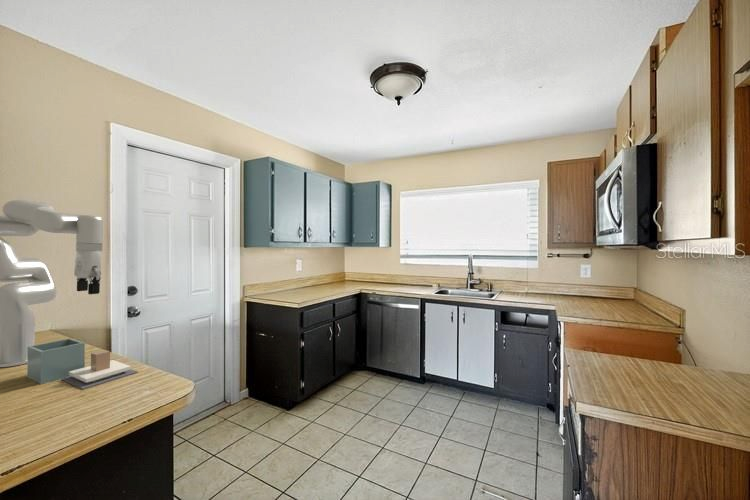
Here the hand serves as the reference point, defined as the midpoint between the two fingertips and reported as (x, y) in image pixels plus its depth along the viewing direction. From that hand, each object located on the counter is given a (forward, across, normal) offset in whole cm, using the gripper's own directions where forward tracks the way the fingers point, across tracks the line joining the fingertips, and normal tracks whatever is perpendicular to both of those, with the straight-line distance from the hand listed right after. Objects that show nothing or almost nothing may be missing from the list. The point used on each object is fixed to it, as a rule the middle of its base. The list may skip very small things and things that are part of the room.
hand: (87, 292), depth 121 cm
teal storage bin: (+29, 0, -8) cm, 30 cm away
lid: (+27, +14, -1) cm, 31 cm away
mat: (+29, +14, -1) cm, 32 cm away
